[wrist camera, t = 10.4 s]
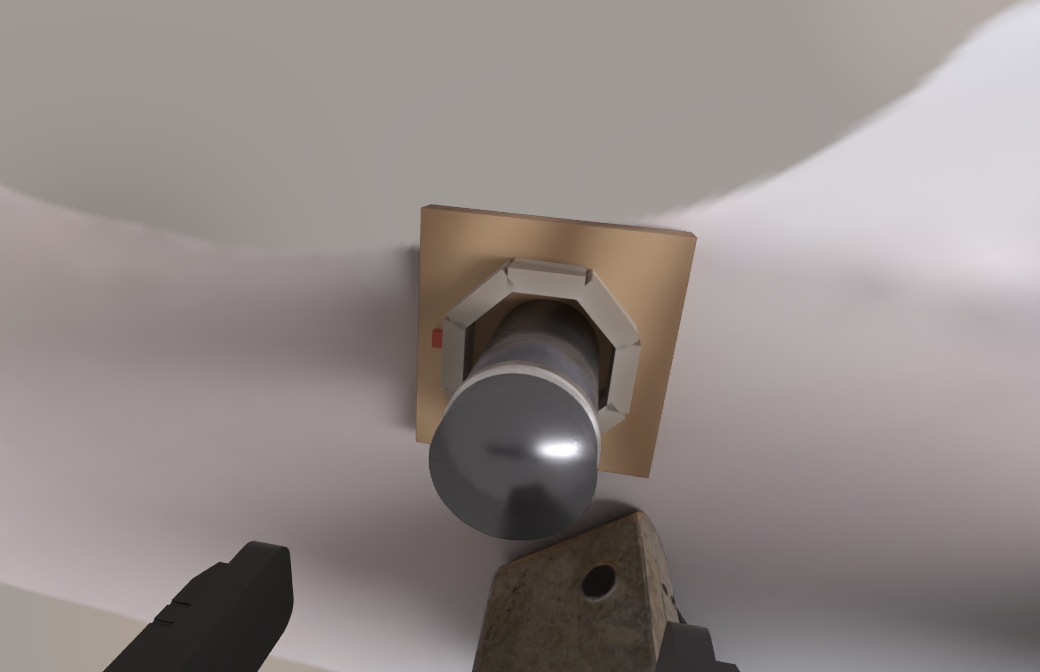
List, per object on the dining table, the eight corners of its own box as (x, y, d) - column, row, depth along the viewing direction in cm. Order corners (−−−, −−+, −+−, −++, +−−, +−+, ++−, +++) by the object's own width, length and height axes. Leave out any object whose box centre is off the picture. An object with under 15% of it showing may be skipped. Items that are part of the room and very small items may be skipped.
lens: (608, 304, 24) (613, 404, 14) (593, 407, 25) (587, 556, 16) (494, 290, 24) (428, 377, 15) (487, 392, 26) (423, 527, 17)
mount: (691, 232, 24) (705, 246, 20) (645, 461, 28) (651, 503, 25) (431, 204, 25) (405, 212, 22) (424, 427, 29) (402, 463, 26)
